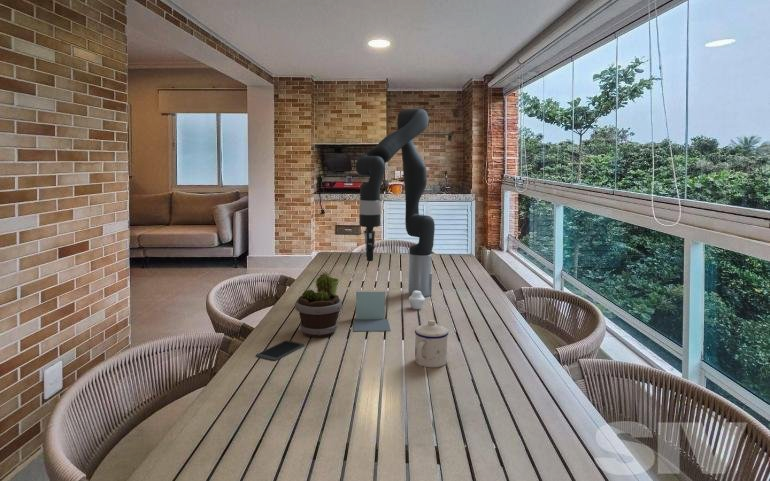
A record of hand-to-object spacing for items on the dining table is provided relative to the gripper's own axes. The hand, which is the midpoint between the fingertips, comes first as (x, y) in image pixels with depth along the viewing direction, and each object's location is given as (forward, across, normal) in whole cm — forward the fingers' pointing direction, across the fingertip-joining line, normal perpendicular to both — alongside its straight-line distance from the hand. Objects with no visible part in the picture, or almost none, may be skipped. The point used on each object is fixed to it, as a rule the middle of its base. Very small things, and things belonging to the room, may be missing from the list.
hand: (369, 258), depth 175 cm
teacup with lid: (+20, -48, -14) cm, 54 cm away
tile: (+20, -8, 0) cm, 21 cm away
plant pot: (+20, +14, +16) cm, 29 cm away
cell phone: (+20, -37, +27) cm, 50 cm away
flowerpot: (+20, -22, +17) cm, 34 cm away
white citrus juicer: (+20, +4, -18) cm, 27 cm away
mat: (+20, -16, 0) cm, 25 cm away
